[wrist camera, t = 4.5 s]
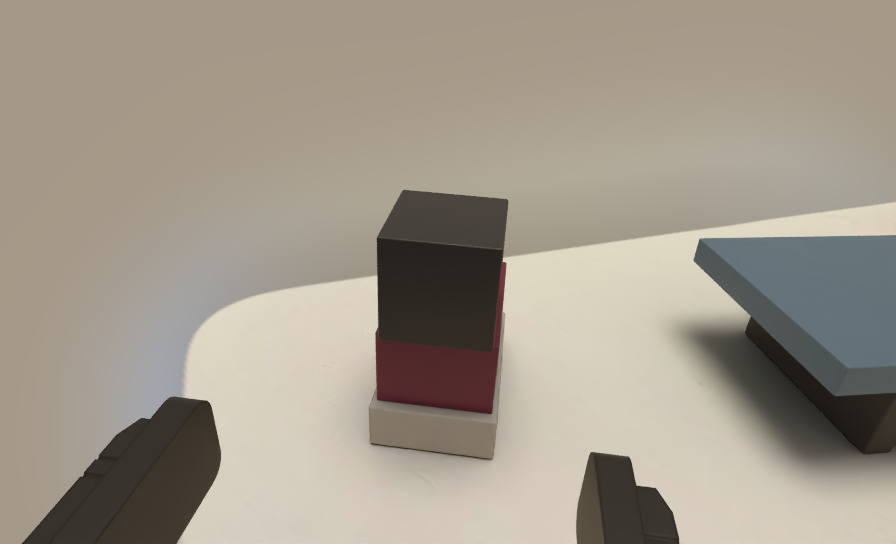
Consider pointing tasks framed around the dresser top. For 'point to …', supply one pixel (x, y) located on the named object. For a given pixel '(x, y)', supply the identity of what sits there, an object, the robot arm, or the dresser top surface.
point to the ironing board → (821, 320)
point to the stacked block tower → (440, 324)
